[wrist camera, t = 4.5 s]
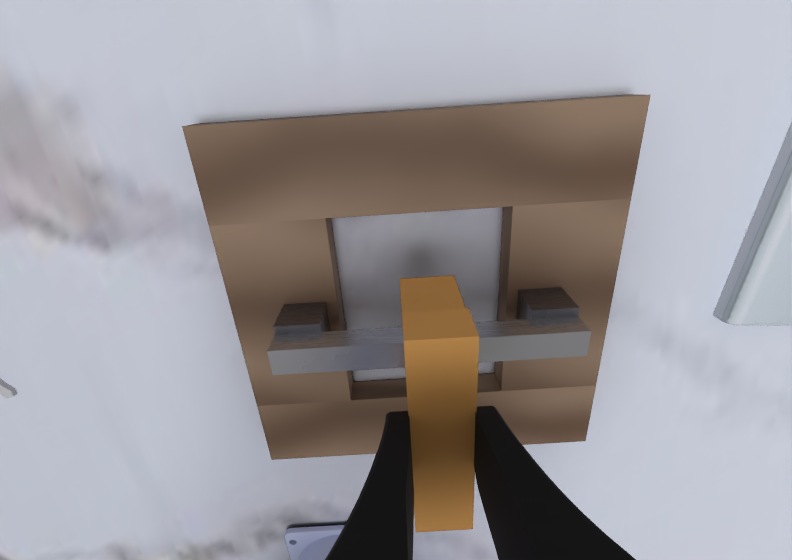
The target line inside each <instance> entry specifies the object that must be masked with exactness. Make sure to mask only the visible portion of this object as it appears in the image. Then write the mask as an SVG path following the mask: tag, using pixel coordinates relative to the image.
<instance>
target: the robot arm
mask: <svg viewBox="0 0 792 560" xmlns="http://www.w3.org/2000/svg"><path fill="white" fill-rule="evenodd" d="M474 469H475V474H476V479H477V485H478V489H479V493H480V497H481V500H482V504H483V507H484V510H485V514H486V517H487V521H488V524H489V528H490V531H491V535H492V538H493V541H494V545H495V548H496V552H497V555H498V559H499V560H636V559H634V558H633V557H632V556H631V555H630V554H629V553H627V552H626V551H625V550H624V549H623V548H621V547H620V546H619V545H618V544H617V543H615V542H614V541H613V540H612V539H611V538H609V537H608V536H607V535H606V534H605V533H604V532H603V531H602V530H601V529H599V528H598V527H597V526H596V525H595V524H594V523H593V522H592V521H591V520H590V519H589V518H588V517H586V516H585V515H584V514H583V513H582V512H581V511H580V510H579V509H578V508H577V507H576V506H575V505H574V504H573V503H572V502H571V501H570V500H569V499H568V498H567V497H566V496H565V494H564V493H563V492H562V491H561V490H560V489H559V488H558V487H557V486H556V485H555V484H554V483H553V481H552V480H551V479H550V478H549V477H548V476H547V475H546V474H545V472H544V471H543V470H542V469H541V468H540V467H539V465H538V464H537V463H536V462H535V460H534V459H533V458H532V457H531V456H530V454H529V453H528V452H527V451H526V449H525V448H524V447H523V446H522V444H521V443H520V442H519V440H518V439H517V438H516V436H515V435H514V433H513V432H512V431H511V429H510V428H509V427H508V425H507V424H506V422H505V421H504V419H503V418H502V416H501V415H500V413H499V412H498V410H497V409H496V408H495V407H494V406H478V407H477V412H475V444H474ZM413 519H414V482H413V466H412V450H411V434H410V418H409V416H408V411H395V412H389V413H388V414H386V419H385V425H384V430H383V434H382V438H381V441H380V444H379V447H378V451H377V453H376V456H375V459H374V462H373V464H372V467H371V470H370V472H369V475H368V477H367V480H366V482H365V484H364V487H363V489H362V491H361V494H360V496H359V498H358V500H357V502H356V504H355V506H354V508H353V510H352V512H351V514H350V516H349V518H348V520H347V522H346V524H345V525H333V526H316V527H298V528H289V529H287V530H286V532H285V541H286V544H287V548H288V551H289V555H290V558H291V560H413Z"/></svg>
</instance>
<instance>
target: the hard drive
mask: <svg viewBox="0 0 792 560" xmlns="http://www.w3.org/2000/svg"><path fill="white" fill-rule="evenodd" d="M713 315H714V316H716V317H717V318H718V319H720V320H721V321H723V322H725V323H728V324H733V325H792V123H791V126H790V128H789V130H788V133H787V135H786V138H785V140H784V143H783V145H782V147H781V150H780V152H779V155H778V157H777V160H776V162H775V164H774V167H773V169H772V172H771V174H770V177H769V179H768V181H767V184H766V186H765V189H764V191H763V194H762V196H761V198H760V201H759V203H758V206H757V208H756V211H755V213H754V216H753V218H752V221H751V223H750V225H749V228H748V230H747V233H746V235H745V238H744V240H743V242H742V245H741V247H740V250H739V252H738V255H737V257H736V259H735V262H734V264H733V267H732V269H731V272H730V274H729V277H728V279H727V281H726V284H725V286H724V289H723V291H722V294H721V296H720V299H719V301H718V303H717V306H716V308H715V311H714V313H713Z"/></svg>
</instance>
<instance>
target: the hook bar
mask: <svg viewBox="0 0 792 560" xmlns="http://www.w3.org/2000/svg"><path fill="white" fill-rule="evenodd" d="M579 309H580V307H579V306H578V305H577V304H576V303H575V302H574V301H573V300H572V298H571V297H570V296H569V295H568V294H567V293H566V292H565V291H564V289H563V288H562V287H551V288H535V289H519V290H518V301H517V314H516V320H505V321H489V322H474V324H475V326H476V329H477V332H478V335H479V356H478V363H479V362H496V361H512V360H528V359H545V358H561V357H577V356H587V354H588V348H589V342H590V336H591V330H590V329H589V328H588V327H587V325H586V324H585V323H584V322H583V321H582V320H581V318H580V317H579ZM273 330H274V334H275V335H274V337H273V340H272V342H271V344H270V346H269V348H268V350H267V353H268V357H269V361H270V366H271V370H272V374H273V375H284V374H300V373H317V372H333V371H349V370H365V369H382V368H398V367H405V354H404V338H403V327H393V328H377V329H361V330H345V331H331V329H330V323H329V316H328V310H327V303H326V302H313V303H297V304H284V305H283V307H282V309H281V311H280V313H279V315H278V317H277V319H276V321H275V324H274V326H273Z"/></svg>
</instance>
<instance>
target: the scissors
mask: <svg viewBox="0 0 792 560" xmlns="http://www.w3.org/2000/svg"><path fill="white" fill-rule="evenodd" d="M0 394H1V395H2V396H3V397H4V398H11V397H13V396H14V395H16V394H17V392H16V390H15V388H14V387H12V386H10V385H9V384H7V383H6V382H4V381H3V380H2V379H1V378H0Z"/></svg>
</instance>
